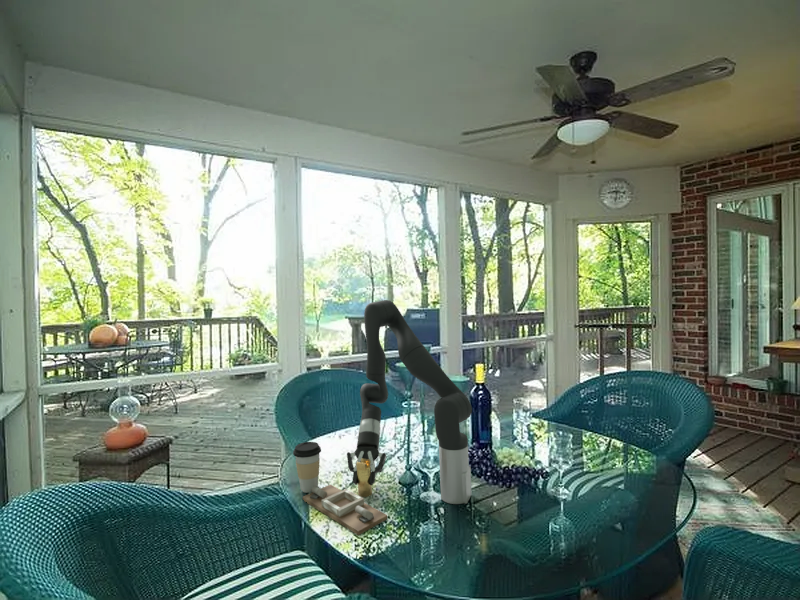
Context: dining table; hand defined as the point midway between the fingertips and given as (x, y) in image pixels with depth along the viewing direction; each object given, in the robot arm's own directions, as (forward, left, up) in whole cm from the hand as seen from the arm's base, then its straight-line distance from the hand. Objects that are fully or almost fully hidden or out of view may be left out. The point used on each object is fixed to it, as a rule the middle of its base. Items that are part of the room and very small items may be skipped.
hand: (363, 484), depth 147 cm
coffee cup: (+21, +1, -4) cm, 21 cm away
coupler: (0, -2, -4) cm, 5 cm away
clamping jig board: (+3, +9, -4) cm, 10 cm away
